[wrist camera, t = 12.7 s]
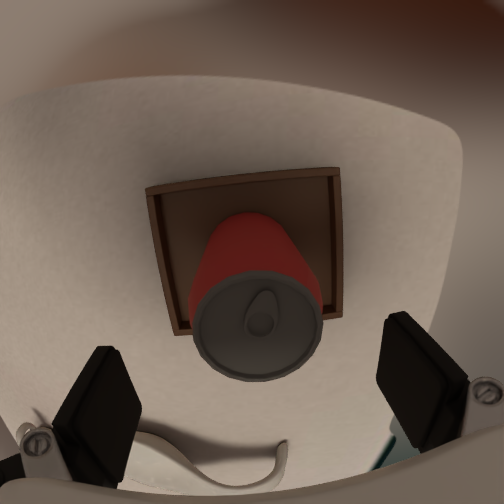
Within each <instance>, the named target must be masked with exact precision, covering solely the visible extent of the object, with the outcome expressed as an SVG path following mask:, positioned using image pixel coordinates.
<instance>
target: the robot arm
mask: <svg viewBox="0 0 504 504" xmlns="http://www.w3.org/2000/svg"><path fill="white" fill-rule="evenodd" d="M467 378H468V375H467V374H466V373H465V372H464V371H463V370H462V369H461V368H460V367H459V366H458V364H457V363H455V361H454V360H453V359H452V358H451V357H450V356H449V355H448V354H447V353H446V352H445V351H444V350H443V349H442V348H441V347H440V345H438V343H437V342H435V340H434V339H433V338H432V337H431V336H430V335H429V334H428V333H427V332H426V331H425V330H424V329H423V328H422V327H421V326H420V325H419V324H418V323H417V322H416V321H415V320H414V319H413V318H412V317H411V316H410V315H409V314H408V313H407V312H405V311H401V312H397V313H392V314H390V315H389V316H388V319H385V321H384V327H383V335H382V342H381V349H380V356H379V362H378V368H377V374H376V381H377V384H378V386H379V388H380V390H381V392H382V393H383V395H384V397H385V398H386V400H387V402H388V404H389V405H390V407H391V409H392V411H393V412H394V414H395V416H396V418H397V419H398V421H399V423H400V425H401V426H402V428H403V430H404V432H405V434H406V435H407V437H408V439H409V441H410V443H411V445H412V446H413V447H414V448H418V449H419V451H420V453H421V454H420V455H417V456H415V457H412V458H409V459H406V460H403V461H401V462H398V463H395V464H392V465H389V466H386V467H383V468H380V469H377V470H374V471H370V472H367V473H364V474H360V475H356V476H353V477H349V478H345V479H341V480H337V481H332V482H328V483H323V484H318V485H313V486H308V487H302V488H296V489H289V490H282V491H275V492H266V493H256V494H243V495H222V496H186V495H166V494H153V493H143V492H135V491H127V490H120V489H117V486H118V482H119V483H120V482H122V480H123V477H124V473H125V469H126V466H127V462H128V458H129V454H130V451H131V447H132V444H133V440H134V437H135V433H136V430H137V426H138V423H139V419H140V416H141V412H142V405H141V402H140V400H139V398H138V395H137V393H136V391H135V389H134V386H133V384H132V382H131V379H130V377H129V374H128V372H127V369H126V367H125V364H124V362H123V359H122V357H121V354H120V352H119V351H118V350H115V348H114V347H113V346H97V347H96V349H95V350H94V352H93V354H92V355H91V357H90V358H89V360H88V362H87V363H86V365H85V366H84V368H83V370H82V371H81V373H80V375H79V376H78V378H77V380H76V381H75V383H74V385H73V386H72V388H71V390H70V392H69V393H68V395H67V397H66V399H65V400H64V402H63V404H62V406H61V407H60V409H59V411H58V413H57V415H56V416H55V418H54V420H53V422H52V425H53V429H52V430H51V431H50V430H49V429H46V428H35V429H32V430H30V431H28V432H27V433H26V434H25V435H24V436H23V438H22V439H21V441H20V444H19V448H20V449H19V450H20V453H18V454H16V455H14V456H11V457H9V458H7V459H4V460H2V461H0V504H504V385H503V384H502V383H501V382H500V381H498V380H496V379H494V378H491V377H479V378H476V379H475V380H473V381H472V382H470V381H469V380H468V379H467Z"/></svg>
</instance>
